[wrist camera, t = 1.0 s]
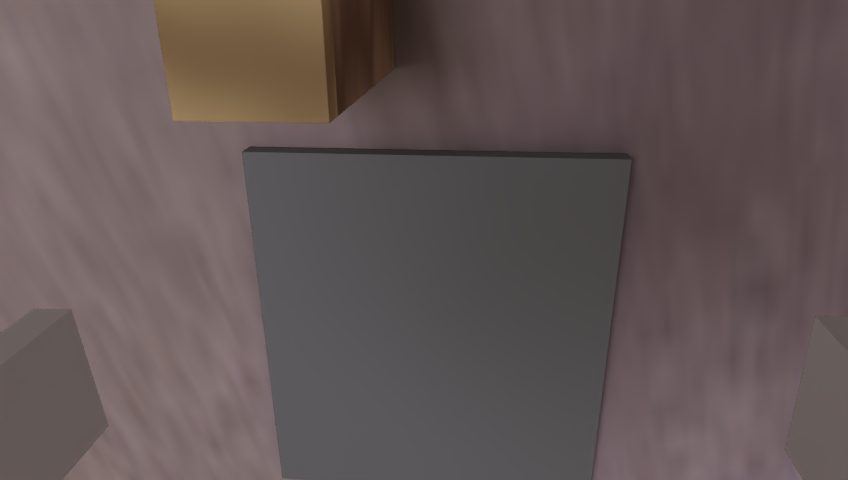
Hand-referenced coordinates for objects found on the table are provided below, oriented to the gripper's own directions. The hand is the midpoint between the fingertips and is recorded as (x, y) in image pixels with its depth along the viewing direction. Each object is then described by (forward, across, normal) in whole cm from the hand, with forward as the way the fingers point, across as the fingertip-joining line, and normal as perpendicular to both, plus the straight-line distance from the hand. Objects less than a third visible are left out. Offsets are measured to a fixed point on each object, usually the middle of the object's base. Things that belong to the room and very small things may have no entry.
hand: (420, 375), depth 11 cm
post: (+19, -5, +5) cm, 21 cm away
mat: (+19, -2, -11) cm, 22 cm away
